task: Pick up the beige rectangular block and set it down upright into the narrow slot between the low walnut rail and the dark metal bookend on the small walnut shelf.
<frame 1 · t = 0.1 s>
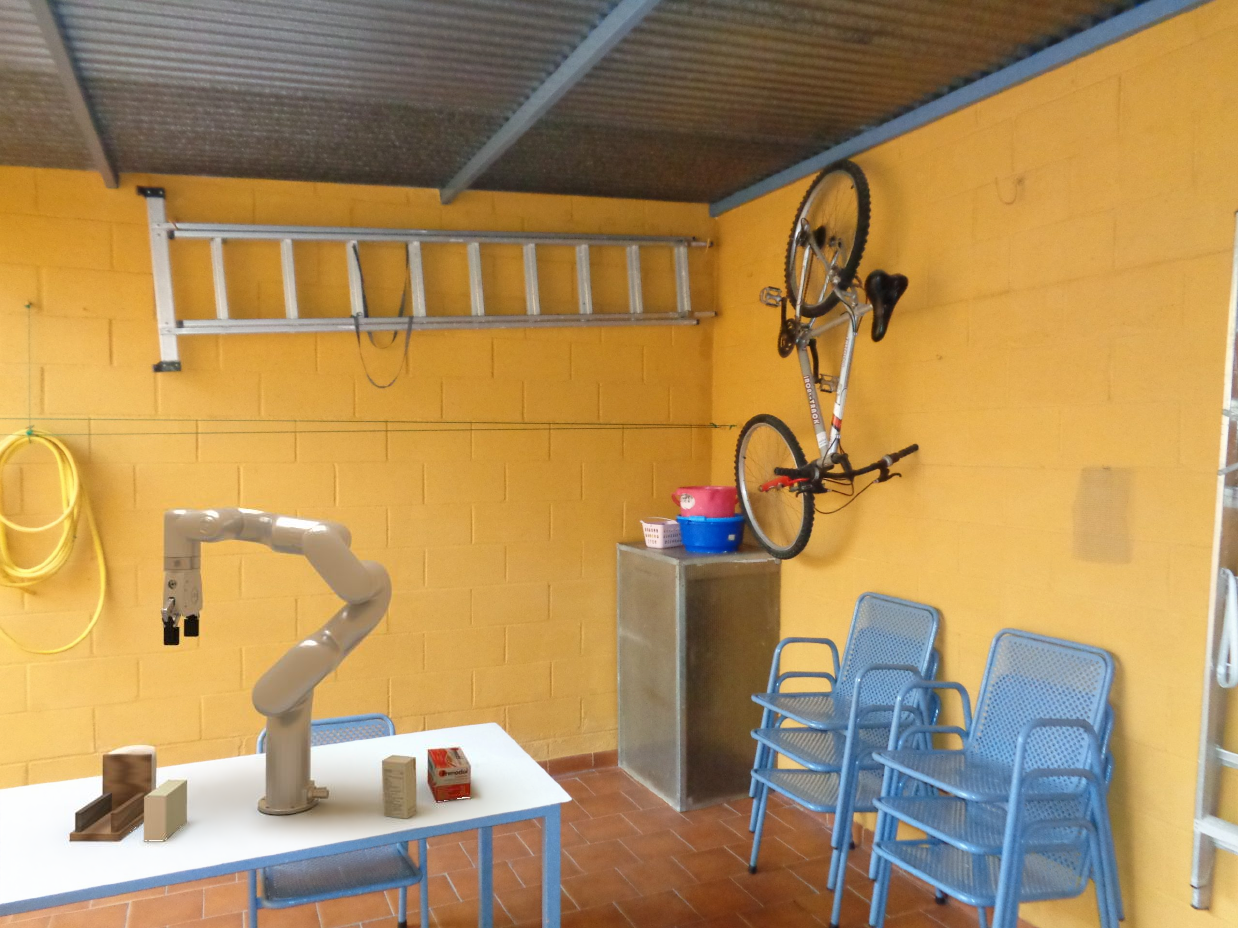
hand: (181, 640, 206), 37 cm above the table, tool pointing down, fingers open, 9 cm apart
medicine box: (448, 791, 217), on the table
shelf: (111, 827, 193), on the table
beige rectangular block: (166, 831, 192), on the table
photo printer: (131, 801, 209), on the table
skincare box: (399, 814, 202), on the table
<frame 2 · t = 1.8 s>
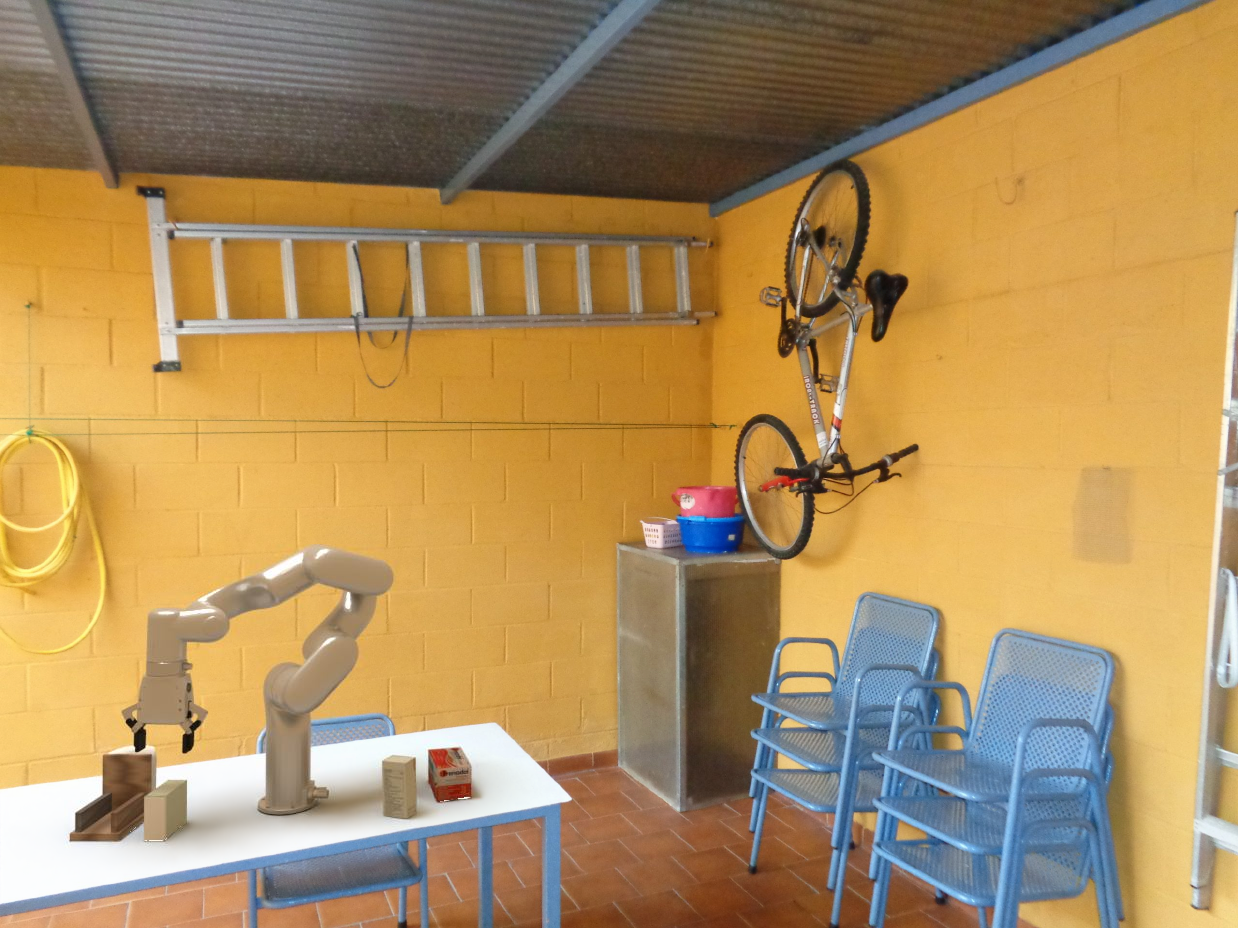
hand: (163, 750, 191), 17 cm above the table, tool pointing down, fingers open, 9 cm apart
nothing on the table moved.
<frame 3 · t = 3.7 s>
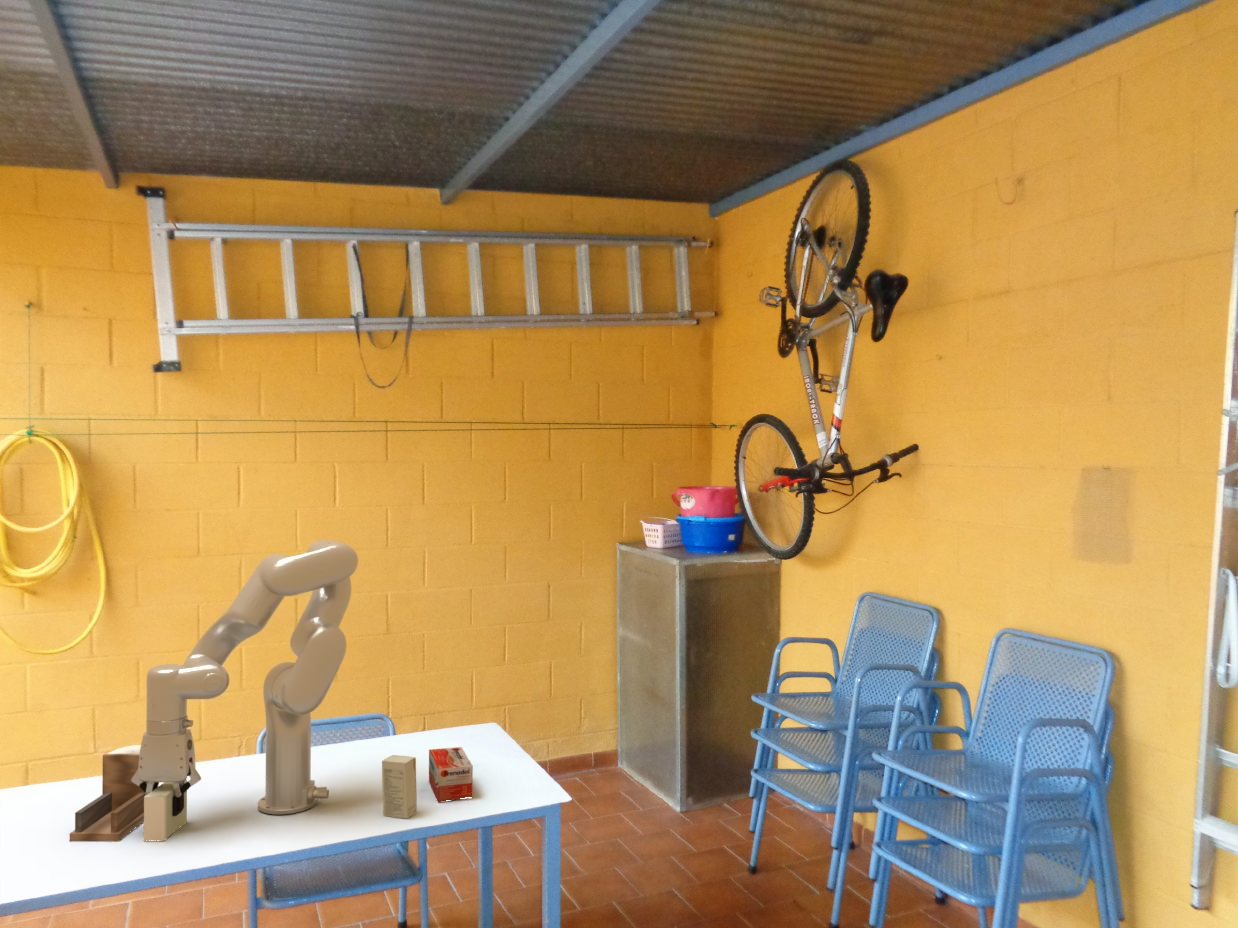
hand: (166, 812, 192), 4 cm above the table, tool pointing down, fingers closed on beige rectangular block, 4 cm apart
beige rectangular block: (165, 831, 192), on the table, touching gripper
everything else where it was.
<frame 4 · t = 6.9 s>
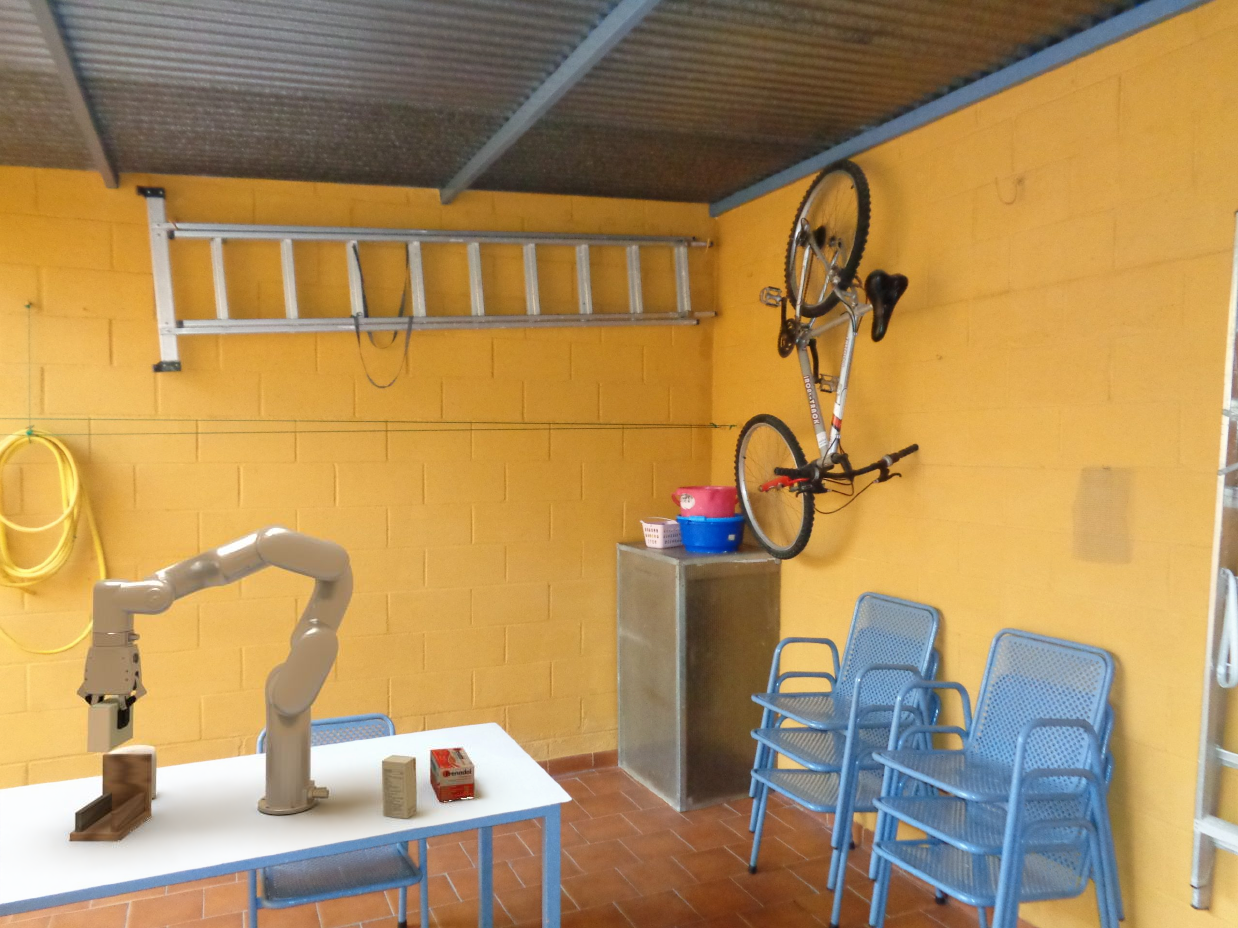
hand: (111, 726, 192), 22 cm above the table, tool pointing down, fingers closed on beige rectangular block, 4 cm apart
beige rectangular block: (110, 744, 192), point 18 cm above the table, touching gripper
everything else where it was.
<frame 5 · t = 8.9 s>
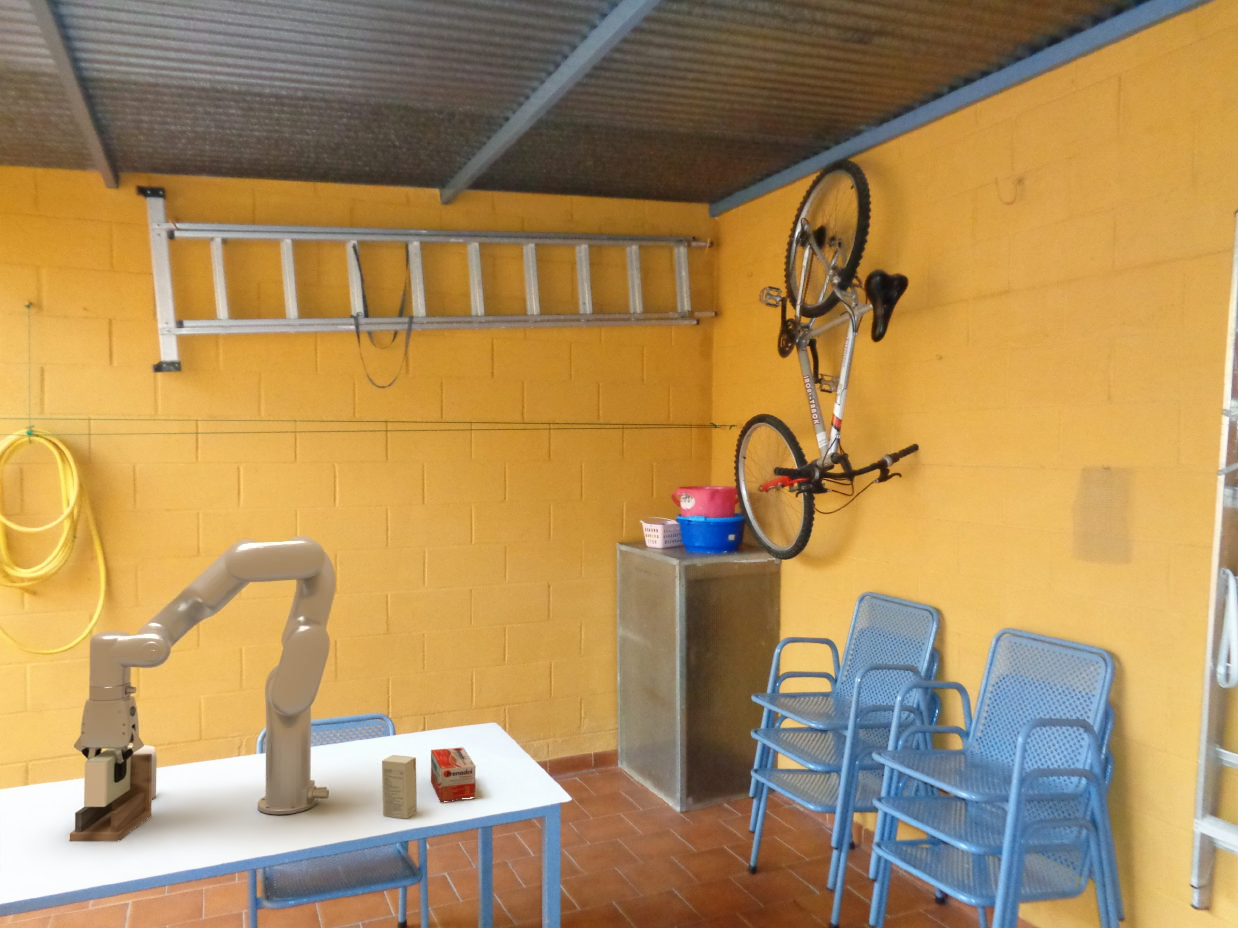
hand: (108, 779, 192), 11 cm above the table, tool pointing down, fingers closed on beige rectangular block, 4 cm apart
beige rectangular block: (107, 797, 192), point 7 cm above the table, touching gripper
when the fingers open (7 cm above the table, at t = 10.4 s): beige rectangular block drops 1 cm, resting on shelf.
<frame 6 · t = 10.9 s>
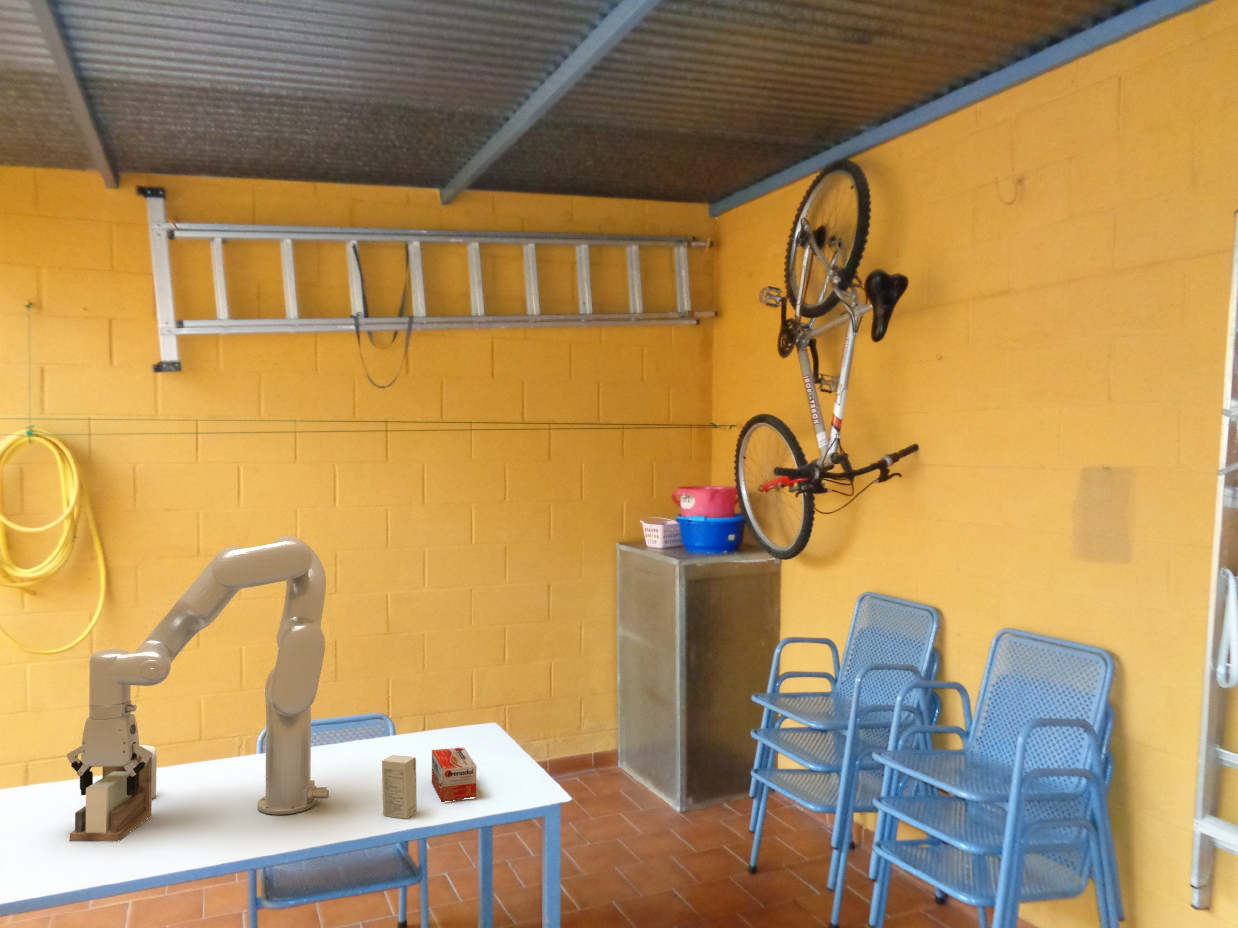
hand: (109, 792, 192), 8 cm above the table, tool pointing down, fingers open, 9 cm apart
beige rectangular block: (109, 822, 192), point 1 cm above the table, touching shelf
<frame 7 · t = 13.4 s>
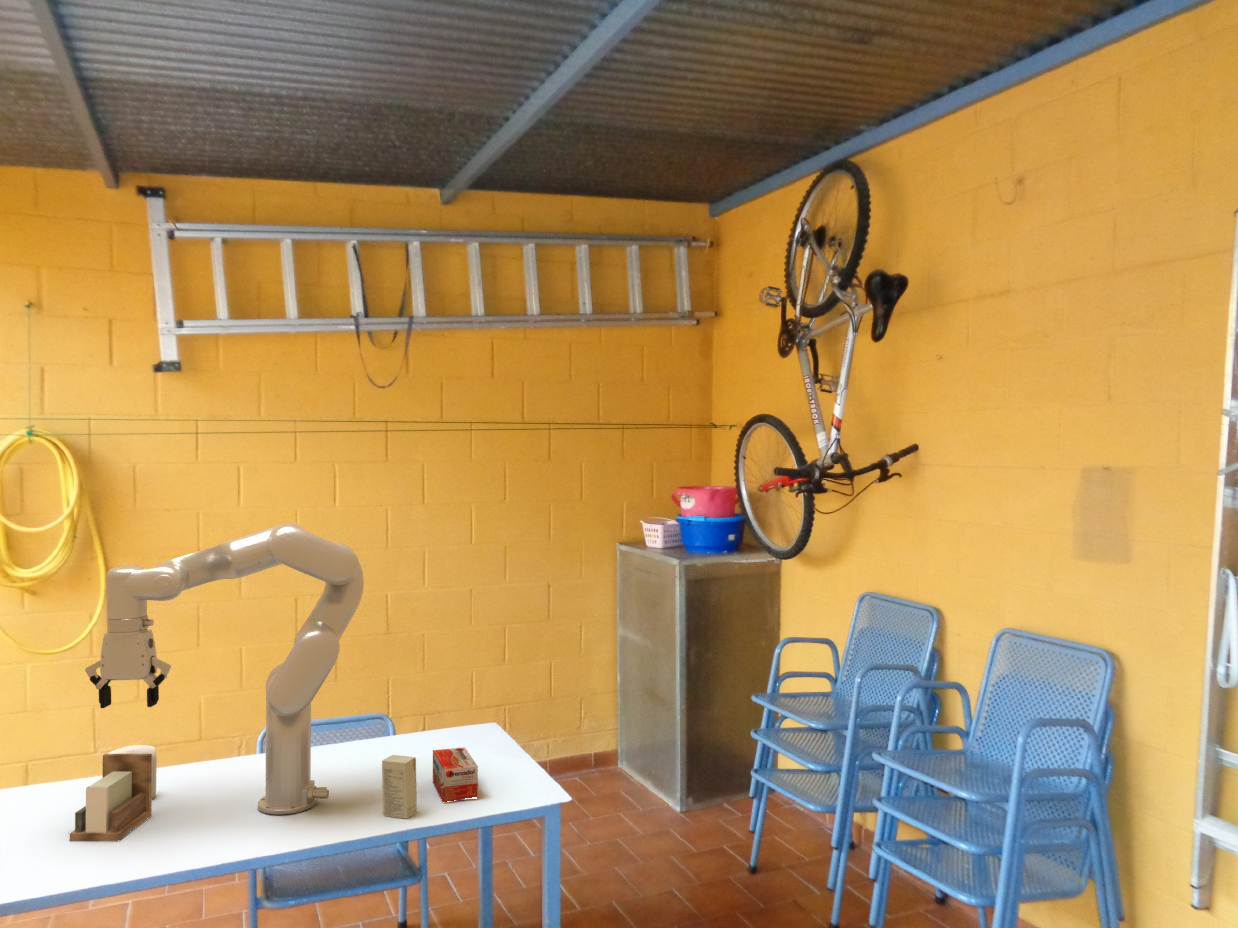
hand: (129, 705, 196), 25 cm above the table, tool pointing down, fingers open, 9 cm apart
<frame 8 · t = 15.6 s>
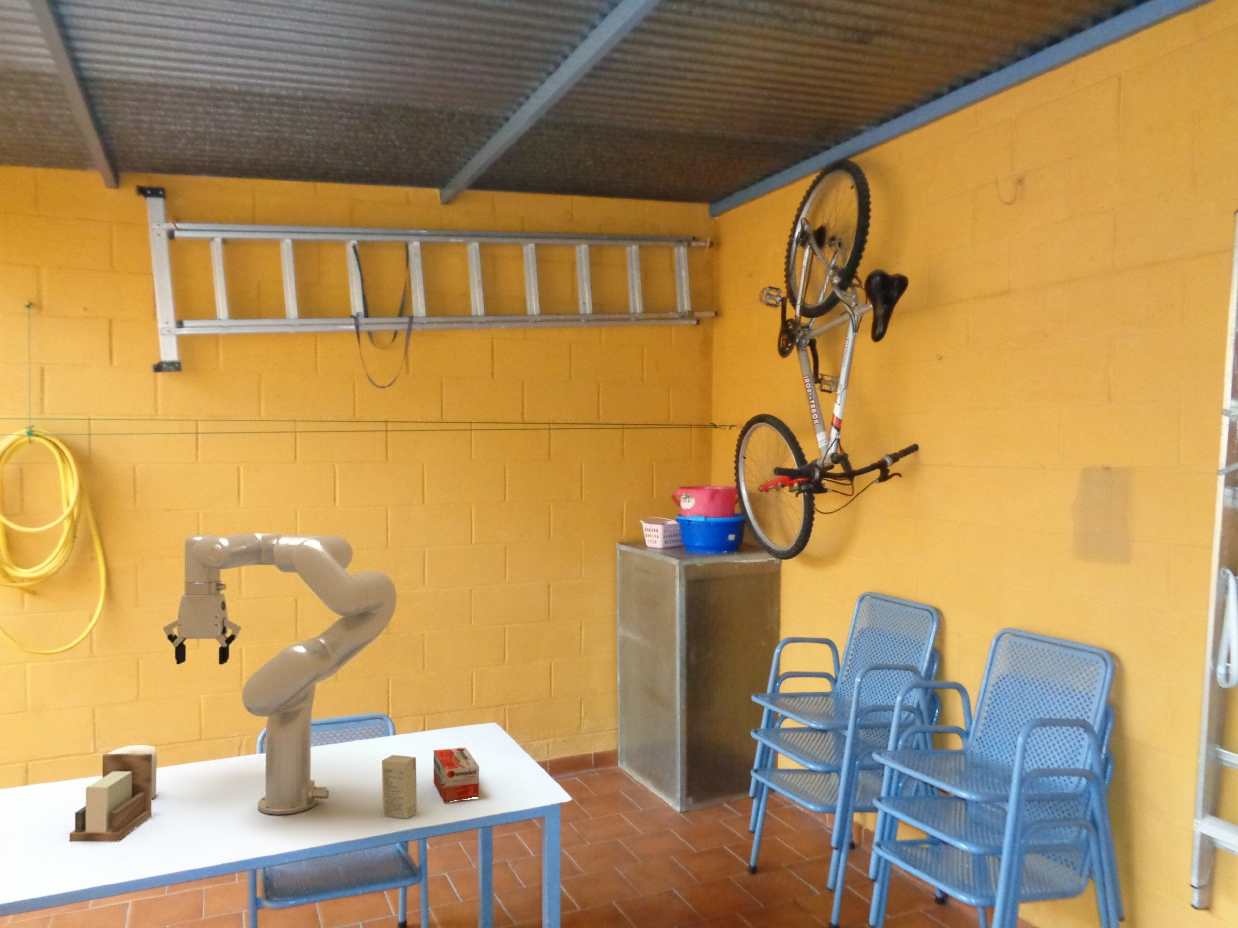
hand: (202, 663, 213), 30 cm above the table, tool pointing down, fingers open, 9 cm apart
at the end: beige rectangular block 0.2 cm off-centre on the shelf, point 1.5 cm above the shelf's base; beige rectangular block tilted 0°; the gripper is holding nothing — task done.
